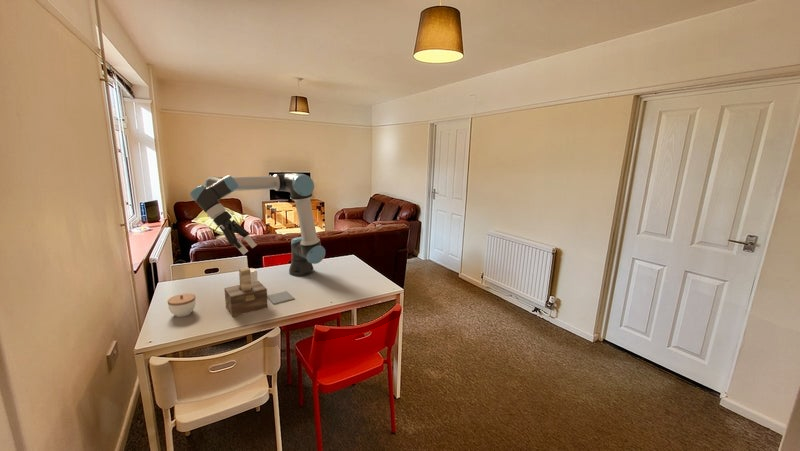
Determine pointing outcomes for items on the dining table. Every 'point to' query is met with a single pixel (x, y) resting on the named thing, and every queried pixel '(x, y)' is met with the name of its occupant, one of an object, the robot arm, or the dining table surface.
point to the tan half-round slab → (253, 275)
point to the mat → (280, 297)
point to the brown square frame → (245, 299)
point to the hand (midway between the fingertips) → (250, 249)
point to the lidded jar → (182, 304)
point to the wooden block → (245, 279)
